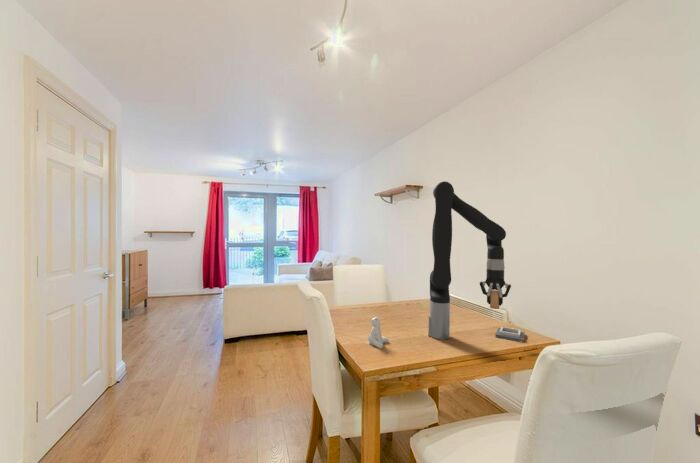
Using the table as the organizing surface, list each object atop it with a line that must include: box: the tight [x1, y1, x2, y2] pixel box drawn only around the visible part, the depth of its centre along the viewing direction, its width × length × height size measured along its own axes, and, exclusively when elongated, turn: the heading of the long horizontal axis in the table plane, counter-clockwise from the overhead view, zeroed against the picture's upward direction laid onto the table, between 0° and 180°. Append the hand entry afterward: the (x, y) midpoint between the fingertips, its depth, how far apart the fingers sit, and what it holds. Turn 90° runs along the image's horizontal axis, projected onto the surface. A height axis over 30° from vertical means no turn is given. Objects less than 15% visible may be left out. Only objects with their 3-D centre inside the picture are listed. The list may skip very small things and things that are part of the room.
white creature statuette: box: [367, 316, 389, 349], centre depth 134 cm, size 10×9×12 cm
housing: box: [495, 326, 526, 343], centre depth 146 cm, size 12×12×3 cm
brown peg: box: [489, 290, 500, 310], centre depth 139 cm, size 4×4×8 cm
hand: (494, 304), depth 139 cm, fingers closed on brown peg, 4 cm apart
